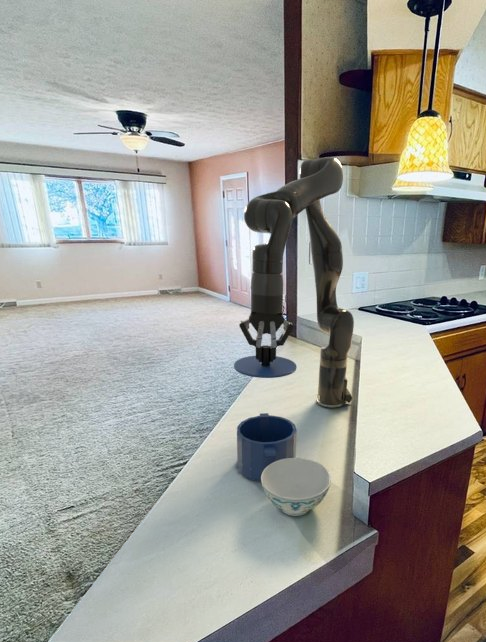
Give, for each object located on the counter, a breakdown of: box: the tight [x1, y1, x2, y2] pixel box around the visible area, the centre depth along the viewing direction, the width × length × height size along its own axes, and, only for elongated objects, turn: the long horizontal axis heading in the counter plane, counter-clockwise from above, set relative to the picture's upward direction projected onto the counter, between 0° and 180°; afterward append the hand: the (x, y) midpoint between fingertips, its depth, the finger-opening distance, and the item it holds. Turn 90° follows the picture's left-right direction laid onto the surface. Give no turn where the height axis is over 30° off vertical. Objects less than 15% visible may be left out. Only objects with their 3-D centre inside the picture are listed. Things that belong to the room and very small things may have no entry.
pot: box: [236, 412, 298, 482], centre depth 103 cm, size 15×20×10 cm
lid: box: [233, 344, 298, 379], centre depth 103 cm, size 16×16×6 cm
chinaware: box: [260, 457, 332, 517], centre depth 90 cm, size 15×15×8 cm
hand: (265, 360), depth 103 cm, fingers closed on lid, 2 cm apart
